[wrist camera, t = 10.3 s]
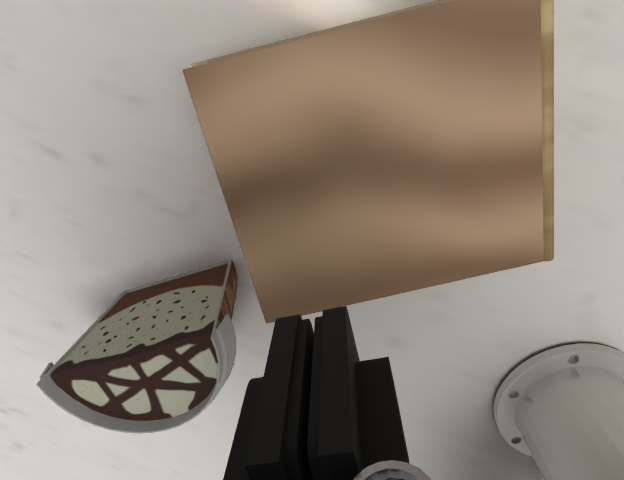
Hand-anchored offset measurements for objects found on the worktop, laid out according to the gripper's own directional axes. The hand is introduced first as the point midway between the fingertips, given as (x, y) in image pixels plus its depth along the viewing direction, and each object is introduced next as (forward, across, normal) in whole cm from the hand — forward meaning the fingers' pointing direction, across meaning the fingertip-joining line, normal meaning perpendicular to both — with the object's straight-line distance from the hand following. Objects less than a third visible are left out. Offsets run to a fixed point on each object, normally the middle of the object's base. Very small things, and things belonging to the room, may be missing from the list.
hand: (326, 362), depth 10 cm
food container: (+21, +13, +9) cm, 26 cm away
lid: (+13, -3, -1) cm, 13 cm away
